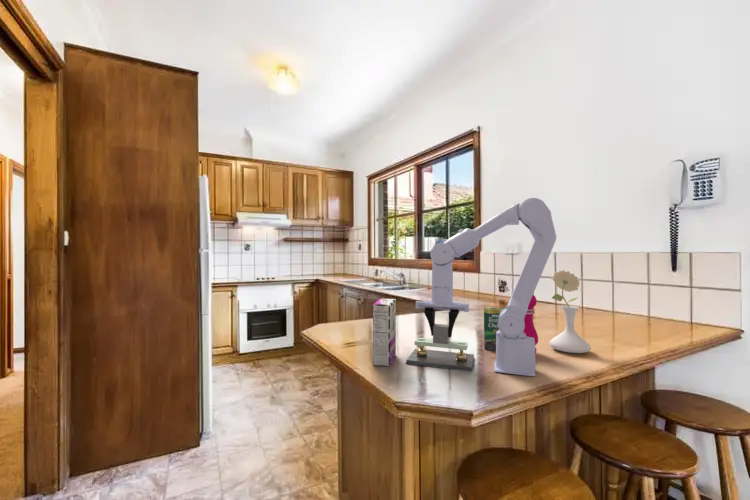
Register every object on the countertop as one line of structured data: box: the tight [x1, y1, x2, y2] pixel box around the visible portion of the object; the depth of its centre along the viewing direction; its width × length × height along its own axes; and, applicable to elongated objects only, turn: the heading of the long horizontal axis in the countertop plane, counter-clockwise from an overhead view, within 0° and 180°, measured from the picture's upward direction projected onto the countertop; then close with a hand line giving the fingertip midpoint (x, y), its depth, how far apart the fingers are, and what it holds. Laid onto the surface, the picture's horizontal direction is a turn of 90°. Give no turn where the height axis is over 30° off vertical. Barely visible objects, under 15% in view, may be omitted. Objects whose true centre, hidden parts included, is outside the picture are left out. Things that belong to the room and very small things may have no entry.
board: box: [413, 323, 469, 351], centre depth 98 cm, size 14×5×6 cm, turn 72°
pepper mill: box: [523, 294, 539, 356], centre depth 107 cm, size 7×7×20 cm
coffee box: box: [483, 306, 505, 352], centre depth 109 cm, size 8×3×13 cm, turn 61°
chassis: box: [405, 345, 475, 372], centre depth 98 cm, size 17×12×4 cm
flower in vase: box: [549, 269, 592, 354], centre depth 110 cm, size 13×11×25 cm
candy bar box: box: [372, 298, 397, 367], centre depth 98 cm, size 11×5×16 cm, turn 168°
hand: (441, 335), depth 98 cm, fingers closed on board, 4 cm apart
